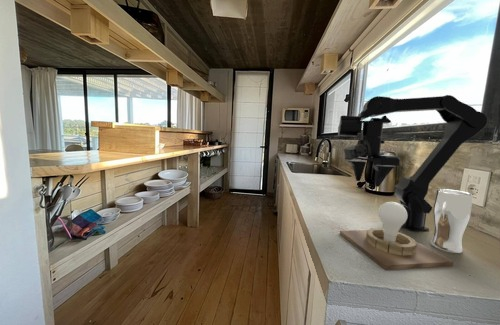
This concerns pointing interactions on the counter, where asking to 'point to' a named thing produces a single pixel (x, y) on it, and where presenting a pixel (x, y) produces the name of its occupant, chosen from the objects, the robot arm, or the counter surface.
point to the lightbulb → (392, 219)
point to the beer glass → (450, 219)
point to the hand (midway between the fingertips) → (366, 183)
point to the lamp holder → (394, 250)
